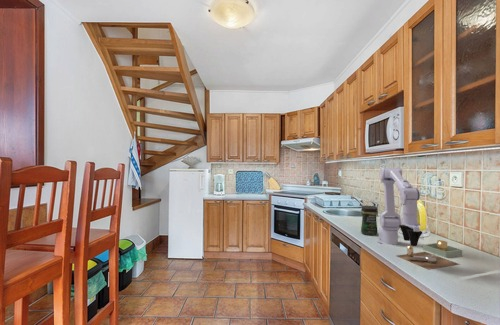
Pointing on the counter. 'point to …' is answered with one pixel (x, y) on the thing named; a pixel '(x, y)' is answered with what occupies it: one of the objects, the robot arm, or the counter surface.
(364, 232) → the coffee jar
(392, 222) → the robot arm
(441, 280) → the counter surface
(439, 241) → the pin
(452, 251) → the tray
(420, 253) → the crank base
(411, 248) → the crank
